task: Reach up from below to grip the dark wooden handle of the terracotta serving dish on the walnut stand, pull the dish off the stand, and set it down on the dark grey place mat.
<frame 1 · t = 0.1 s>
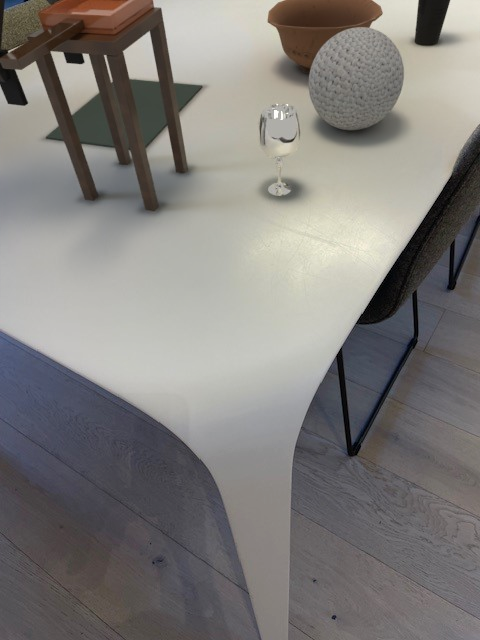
hand: (48, 82, 68), 15 cm above the table, tool pointing down, fingers open, 13 cm apart
decorative ball: (350, 126, 85), on the table
drinking cup: (425, 43, 108), on the table
wineglass: (279, 191, 74), on the table
place mat: (128, 112, 95), on the table
bowl: (321, 69, 103), on the table
stand: (138, 184, 77), on the table
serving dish: (100, 18, 61), point 23 cm above the table, touching stand
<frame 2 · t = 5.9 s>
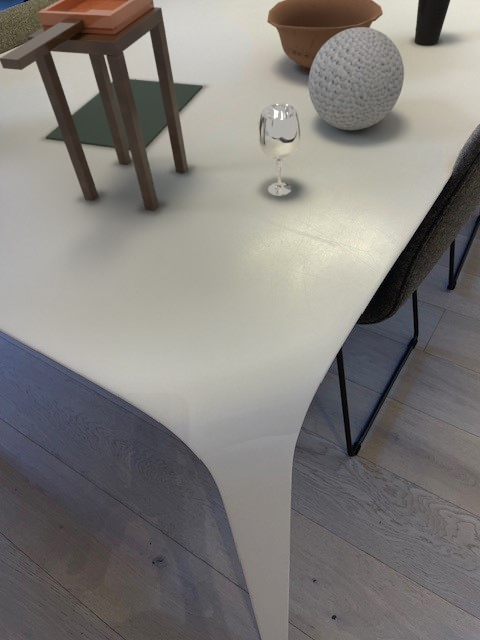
nothing on the table moved.
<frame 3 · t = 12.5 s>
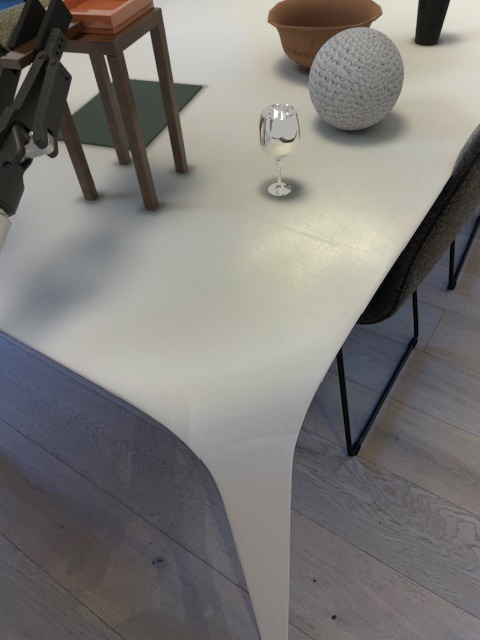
hand: (50, 5, 53), 27 cm above the table, tool pointing upward, fingers closed on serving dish, 2 cm apart
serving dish: (100, 18, 61), point 23 cm above the table, touching gripper, stand
everything else where it was.
when the fingers open (6 cm above the table, at t = 30.5 s): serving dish drops 1 cm, resting on place mat.
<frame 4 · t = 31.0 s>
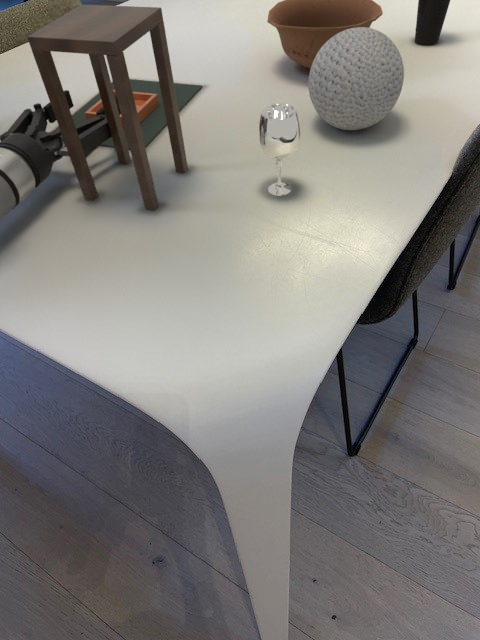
hand: (94, 100, 85), 6 cm above the table, tool horizontal, fingers open, 9 cm apart
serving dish: (124, 113, 93), point 1 cm above the table, touching place mat
everything else where it was.
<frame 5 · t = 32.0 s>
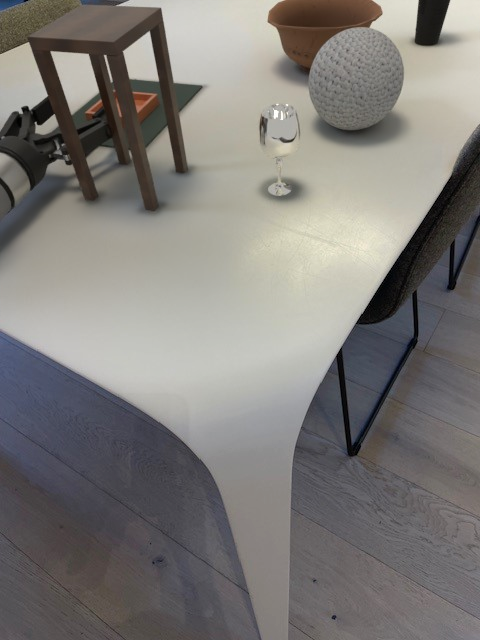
hand: (85, 102, 85), 6 cm above the table, tool horizontal, fingers open, 11 cm apart
nothing on the table moved.
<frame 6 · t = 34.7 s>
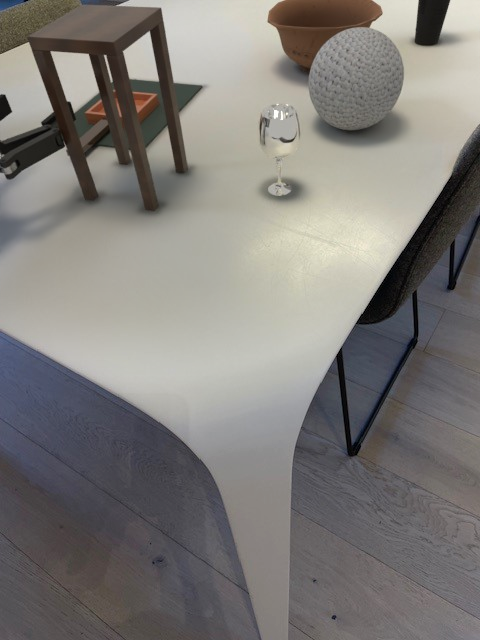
hand: (38, 106, 75), 11 cm above the table, tool horizontal, fingers open, 11 cm apart
nothing on the table moved.
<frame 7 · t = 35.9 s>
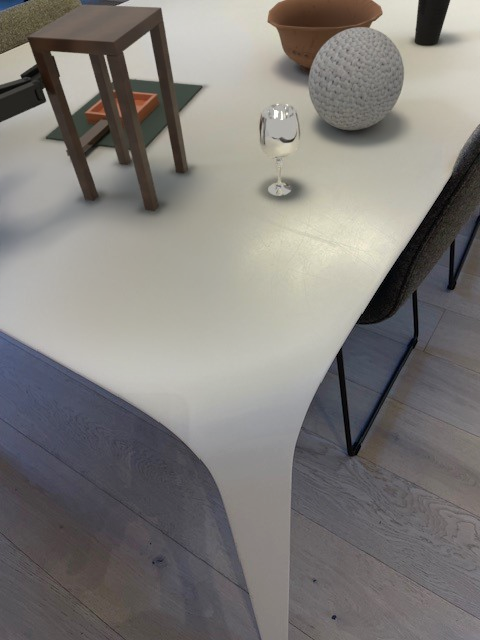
hand: (17, 62, 69), 17 cm above the table, tool horizontal, fingers open, 12 cm apart
nothing on the table moved.
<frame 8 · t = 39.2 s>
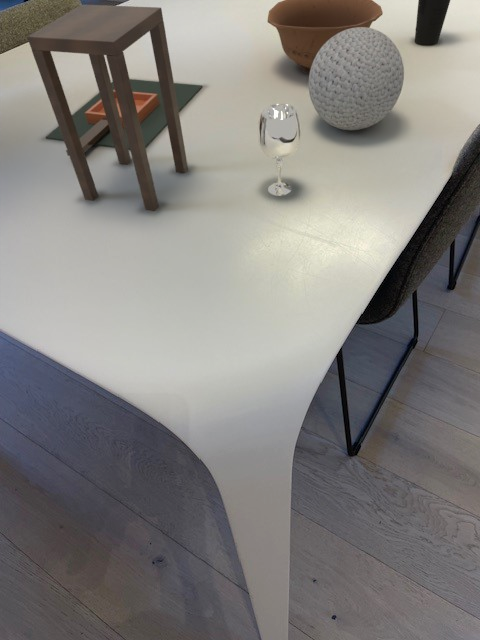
nothing on the table moved.
at the end: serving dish inside the target area on the place mat (1.6 cm from its centre), point 0.6 cm above the place mat's base; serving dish touching place mat; the gripper is holding nothing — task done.
